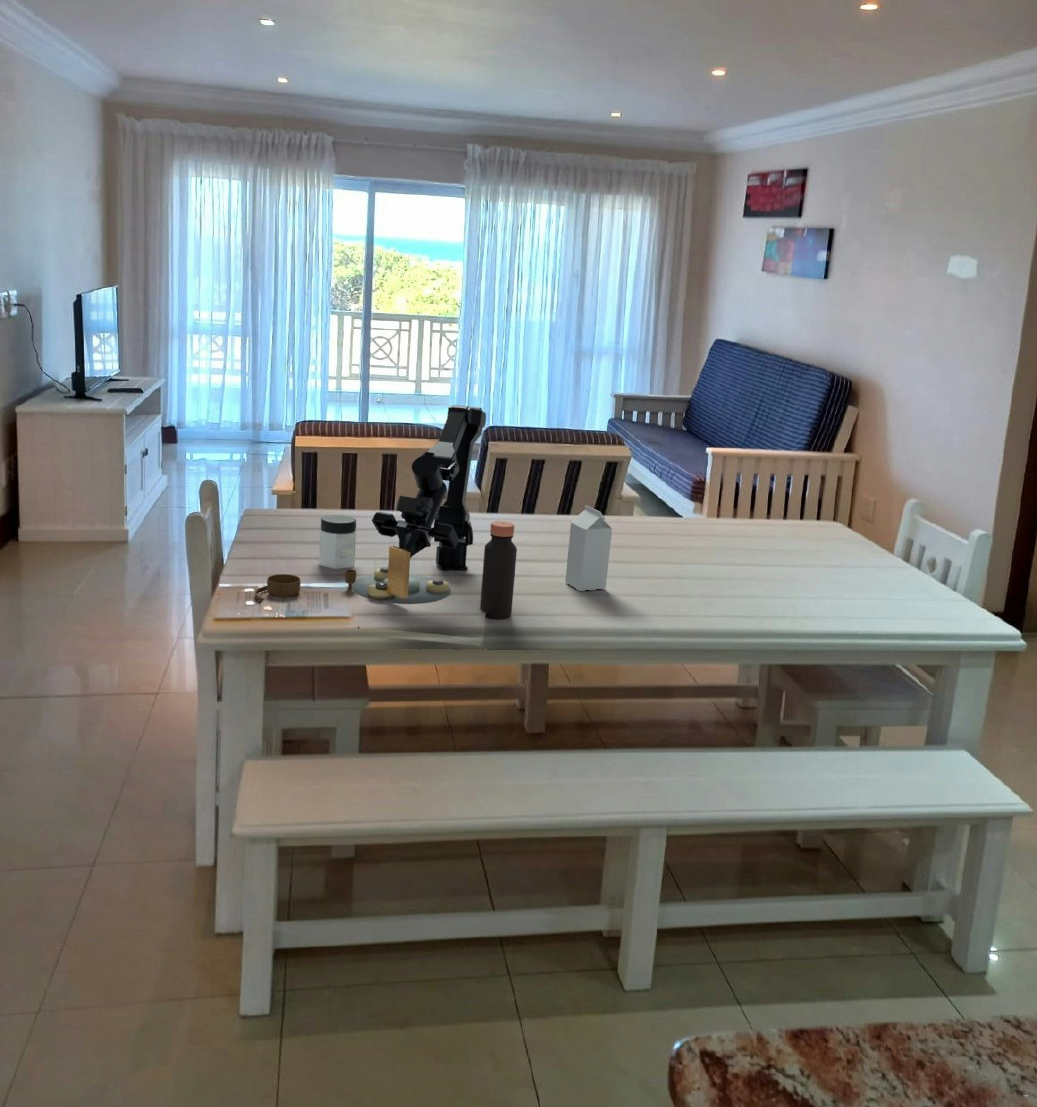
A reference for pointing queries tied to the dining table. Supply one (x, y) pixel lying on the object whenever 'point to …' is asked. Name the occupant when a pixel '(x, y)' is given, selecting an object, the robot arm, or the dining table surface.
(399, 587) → the wooden slab
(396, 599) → the plate
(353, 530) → the jar
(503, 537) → the bottle
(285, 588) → the place setting
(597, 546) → the milk carton
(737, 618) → the dining table surface
